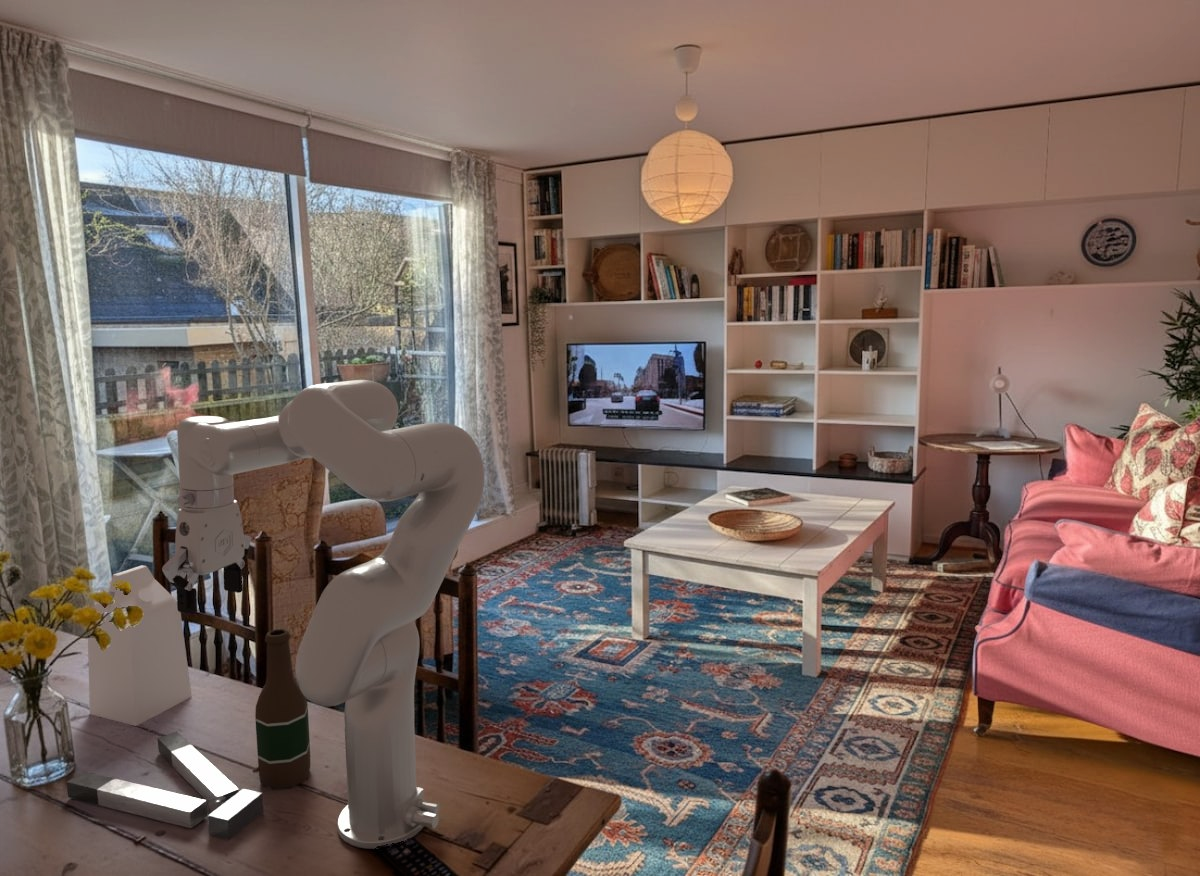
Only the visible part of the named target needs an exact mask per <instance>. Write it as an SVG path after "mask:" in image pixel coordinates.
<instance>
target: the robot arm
mask: <svg viewBox="0 0 1200 876" xmlns="http://www.w3.org/2000/svg"><path fill="white" fill-rule="evenodd" d="M398 417H399V404H398V401H397V399H396V397H395V395H394V394H393V392H392V391H391V390H390V389H389V388H388V387H386V386H385V385H384V384H381V383H379V382H377V381H374V380H370V379H368V380H367V379H356V380H355V379H353V380H346V381H345V380H344V381H337V382H336V381H334V382H325V383H317V384H312V385H310V386H307V387H305V388H303V389H302V390H301V391H299V392H298V393H297V394H296V395H294V397H293V399H291V400H290V401H289V402H288V403H286V404H285V405H284V407H283V408H282V410H281V411H280V414H279V415H274V416H269V417H264V418H262V417H261V418H254V419H249V420H241V421H234V422H230V421H229V420H228V419H227V418H225V417H221V416H217V415H197V416H190V417H186V418H183V419H182V420H180V421H179V423H178V424H177V431H176V433H177V435H176V436H177V454H178V457H177V458H178V476H179V477H178V479H179V480H178V481H179V497H178V498H177V504H178V505H180V508H179V509H178V510H177V511H178V512H177V519H176V526H175V528H176V529H175V542H174V543H175V544H174V547H175V548H174V549H175V550H174V551H175V553H174V555H173V556H171V558H170V559H168V561H167V562H166V563H165V564H164V565H163V566H162V568H161V569H162V573H163V575H164V576H165V578H166V581H167V583H169V585H171V587H173V588H174V589H176V601H177V609H178V611H179V612H181V613H184V614H190V615H195V614H197V612H198V599H197V598H198V596H197V593H198V591H197V588H195V587H194V585H195V584H196V581H197V579H198V578H199V576H206V575H209V574H212V573H214V572H216V571H219V570H222V569H223V570H222V571H223V572H222V573H223V590H224V591H227V592H233V593H236V594H237V593H239V594H240V593H241V592H243V568H244V567H245V565H246V563H245V559H246V558H247V556H248V555H249V547H250V545H251V540H252V537H251V536H250V535H247V534H244V527H243V518H242V514H241V510H240V505H239V503H238V500H236V499H235V495H234V494H235V493H234V492H235V491H234V489H235V488H234V475H236V474H241V473H246V472H251V471H254V470H260V469H264V468H271V467H275V466H281V465H284V464H288V463H292V462H296V461H300V460H304V459H314V460H315V461H317V462H318V463H319V464H320V465H322V466H323V467H324V468H325V469H326V470H328V471H329V472H331V474H332V475H334V476H335V477H336V478H338V479H339V480H341V481H342V482H343V483H344V484H346V485H347V486H348V487H350V488H351V490H353V491H355V492H356V493H357V494H359V495H361V496H362V497H365V498H366V499H368V500H371V501H375V502H384V503H385V502H392V501H397V500H400V499H403V498H407V497H410V496H414V495H417V494H418V495H417V496H416V498H415V499H414V500H413V502H412V503H411V504H410V505H409V506H408V507H407V509H406V510H404V513H402V515H401V517H400V518H399V519H398V522H397V523H396V525H395V527H394V530H393V533H392V535H391V537H390V540H389V541H388V543H387V545H386V547H385V548H384V550H383V551H382V552H381V553H380V554H379V555H378V556H375V558H373V559H371V560H369V561H367V562H364V563H361V564H358V565H356V566H353V567H351V568H349V569H346V570H344V571H342V572H340V573H339V574H337V575H336V576H334V578H333V579H331V581H330V582H329V583H328V584H327V586H326V587H325V588H324V589H323V591H322V593H321V594H320V597H319V598H318V599H319V600H318V602H317V604H316V605H315V607H314V608H315V609H314V611H313V613H312V616H311V617H310V620H309V623H308V625H307V627H306V630H305V631H304V635H303V637H302V638H301V639H302V640H301V641H300V644H299V648H298V649H297V650H298V651H297V654H296V658H295V664H294V665H295V679H296V680H297V683H298V685H299V688H300V690H301V692H302V693H303V695H304V696H305V697H306V698H307V701H309V702H311V703H312V704H314V705H317V706H322V707H334V706H338V705H342V704H344V703H345V704H344V717H343V719H344V742H345V744H344V745H345V764H346V783H347V785H346V786H347V789H346V790H347V805H346V806H345V807H344V808H343V809H342V810H341V812H340V813H339V815H338V818H337V833H338V834H339V837H340V838H341V839H342V840H343V841H344V842H345V843H347V844H349V845H351V846H354V847H356V848H360V849H361V848H362V849H370V850H371V849H375V848H376V847H377V846H381V845H386V844H388V845H389V844H392V843H397V842H401V841H403V840H405V839H408V838H410V839H412V838H413V837H415V836H416V835H418V834H419V832H420V831H421V832H422V830H423V828H424V827H426V828H430V829H436V828H437V827H438V824H439V821H440V816H439V814H438V813H439V811H440V804H438V803H434V802H428V801H426V799H424V788H423V787H419V786H418V787H417V766H416V765H417V764H416V737H415V736H416V735H415V683H416V682H415V681H416V673H417V668H418V667H417V666H418V663H419V662H418V659H419V656H420V635H419V630H418V628H417V626H416V623H415V621H416V620H417V619H419V618H420V617H422V616H423V615H424V614H425V613H427V611H428V610H429V609H430V607H431V605H432V604H433V603H434V600H435V598H436V595H437V594H438V591H439V589H440V587H441V585H442V583H443V581H444V579H445V577H446V575H447V574H448V570H449V568H450V567H451V565H452V562H453V561H454V559H455V555H456V554H457V551H458V548H459V546H460V545H461V543H462V541H463V539H464V538H465V535H466V534H467V532H468V529H469V527H470V526H471V524H472V522H473V521H474V518H475V517H476V514H477V511H478V509H479V507H480V504H481V501H482V498H483V494H484V487H485V468H484V462H483V458H482V455H481V452H480V450H479V448H478V445H477V443H476V442H475V440H474V438H473V437H472V436H471V434H470V433H468V432H467V431H466V430H464V428H462V427H460V426H457V425H455V424H452V423H447V422H427V423H419V424H413V425H410V426H403V427H400V428H394V426H395V424H396V423H397V420H398ZM188 574H189V575H188ZM187 575H188V577H187V579H186V576H187ZM381 839H383V840H381ZM376 849H377V848H376Z"/></svg>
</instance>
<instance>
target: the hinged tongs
mask: <svg viewBox="0 0 1200 876" xmlns="http://www.w3.org/2000/svg"><path fill="white" fill-rule="evenodd" d="M66 790H67V798H69V799H73V800H77V801H82V802H86V803H90V804H92V805H93V804H94V805H97V806H102V807H105V808H109V809H112V810H116V811H117V810H118V811H120V812H125V813H128V814H133V815H137V816H140V817H144V818H149V819H153V820H157V821H159V822H164V823H168V824H171V825H175V826H176V825H177V826H180V827H184V828H188V829H192V828H194V827H196V825H198V824H200V822H201V821H203V820H204V819H206V818H207V819H208V820H207V821H208V834H209V836H212V837H216V838H219V839H223V840H227V841H230V840H231V839H233V838H234V837H235V836H236V835H238V833H239V832H240V831H242V830H243V829H244V828H246V827H247V826H248V825H249V824H251V823H252V822H253V821H254V820H256V819H257V818H258V817H259V816H261V815H262V814H263V813H264V805H263V804H264V801H263V792H260V791H255V790H252V789H251V790H250V789H248V788H247V789H246V788H242V789H241V790H240V791H239V792H238V793H237V794H236V795H234V796H233V797H232V798H230V799H229V800H228V801H226V802H225V803H224V804H222V805H221V806H220V807H218V808H217V809H216V810H214V811H213V812H212V813H211V814H209V813H208V809H207V808H208V804H207V801H206V800H205V799H204V798H202V799H201V798H198V797H193V796H190V795H186V794H181V793H176V792H173V791H168V790H164V789H161V788H155V787H152V786H147V785H144V784H139V783H134V782H130V781H128V780H127V781H126V780H122V779H118V778H115V777H109V776H106V775H100V774H98V773H94V772H93V773H92V772H89V771H83V772H81V773H79V774H78V775H75V776H73V778H71V779H69V780H67V781H66Z"/></svg>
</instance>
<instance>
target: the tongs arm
mask: <svg viewBox="0 0 1200 876" xmlns="http://www.w3.org/2000/svg"><path fill="white" fill-rule="evenodd" d="M157 749H158V753H159V754H160V756H162V757H163V759H165V760H166V761H167V763H169V764H170V765H171V766H172V767H173V769H175V771H177V773H179V775H180V776H182V777H183V778H184V779H185V780H186V781H187V783H188V784H189V785H191V787H193V789H194V790H195V791H196V792H197V793H198V794H199V795H200V796H201V797H203V798H202V799H203V800H206V803H207V808H208V809H207V811H208V815H209V814H211V813H212V812H213V811H214V810H216V809H217V808H218V807H220V806H221V805H222V804H224V803H225V802H226V801H228V800H229V799H230V798H232V797H233V796H234V795H236V794H237V793H238V792H239V788H238V786H236V785H235V784H234V783H233V782H232V781H231V780H230V779H228V778H227V776H226V775H225V774H223V773H222V772H221V771H220V769H218V768H217V767H216V766H215V765H213V763H211V762H210V760H208V758H206V757H205V756H204V755H203V754H202V753H201V752H199V750H198V749H197V748H195V747H194V745H192V744H191V743H190V742H189V741H188V740H187V739H185V737H183V736H182V735H181V734H180V733H179V732H178V731H177V730H176V731H173V732H171V733H167V734H165V735H163V736H160V737H157Z"/></svg>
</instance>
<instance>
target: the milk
mask: <svg viewBox="0 0 1200 876" xmlns="http://www.w3.org/2000/svg"><path fill="white" fill-rule="evenodd" d="M116 581H127V582H129V583H130V585H131V592H130V593H129V594H128V595H124V594H123V591H120V589H119V588H117V590H116V589H115V587H117V586H116V585H115V586H113V582H116ZM118 583H125V582H117V583H115V584H118ZM119 586H120V585H119ZM107 593H108V594H110V595H111V596H112V597H113V598H114V600H115V603H114V604H110V605H108V606H107V607H106V608H104V607H103V606H102V605H100V604H98V603H96V604H95V606H94V607H93V608H95V609H97V611H98V612H99V613H100V614H103V613H104V612H107V613H110V612H112V611H113V610H114V609H115V608H116V607H117V608H122V607H128V606H140V607H141V608H142V609H143V611H144V616H143V619H142V620H141V622H140V623H139V624H138V625H136V626H135V627H130V626H128V627H127V628H126V629H124V630H122V631H120V630H118V629H117V628H116V627H115V626H114V625H113V624H112V623H111V622H109V620H110V618H111V616H110V615H108V616H107V618H106V622H105V623H103V624H102V625H101V629H102V630H104V631H106V632H107V633H108V634H109V636H110V637H111V639H112V640H113V641H112V643H111V644H110V646H109V647H108V648H107V649H106V650H105V651H102V650H101V649H100V648H99V645H98V643H97V641H96V639H95V638H88V637H87V648H88V649H87V651H88V652H87V654H88V691H89V692H88V693H89V695H88V698H89V699H88V701H89V702H88V703H89V715H90V716H91V715H92V716H96V717H100V718H104V719H107V720H110V721H114V722H115V721H116V722H118V723H123V724H127V725H130V726H135V727H136V726H139V725H141V724H143V723H144V722H146V721H148V720H150V719H152V718H154V717H157V716H158V715H159V714H162V713H163V712H165V711H167V710H170V709H171V708H173V707H174V706H177V705H179V704H180V703H182V702H184V701H187V700H188V699H190V698H192V696H193V695H192V689H191V681H190V679H191V678H190V673H189V665H188V660H187V658H188V657H187V650H186V643H185V636H184V628H183V622H182V621H183V620H182V612H179V611H178V609H177V599H175V597H174V596H173V595H172V594H171V593H170V592H169V591H168V590H167V589H166V588H165V587H164V586H163V585H162V584H161V583H160V582H158V580H157V579H155V577H154V575H153V574H152V572H151V570H150V569H149V567H148V566H147V565H142V564H141V565H139V566H136V567H132V568H129V569H127V570H123V571H120V572H117V573H113V574H112V577H111V581H110V585H109V589H108V592H107Z"/></svg>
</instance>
